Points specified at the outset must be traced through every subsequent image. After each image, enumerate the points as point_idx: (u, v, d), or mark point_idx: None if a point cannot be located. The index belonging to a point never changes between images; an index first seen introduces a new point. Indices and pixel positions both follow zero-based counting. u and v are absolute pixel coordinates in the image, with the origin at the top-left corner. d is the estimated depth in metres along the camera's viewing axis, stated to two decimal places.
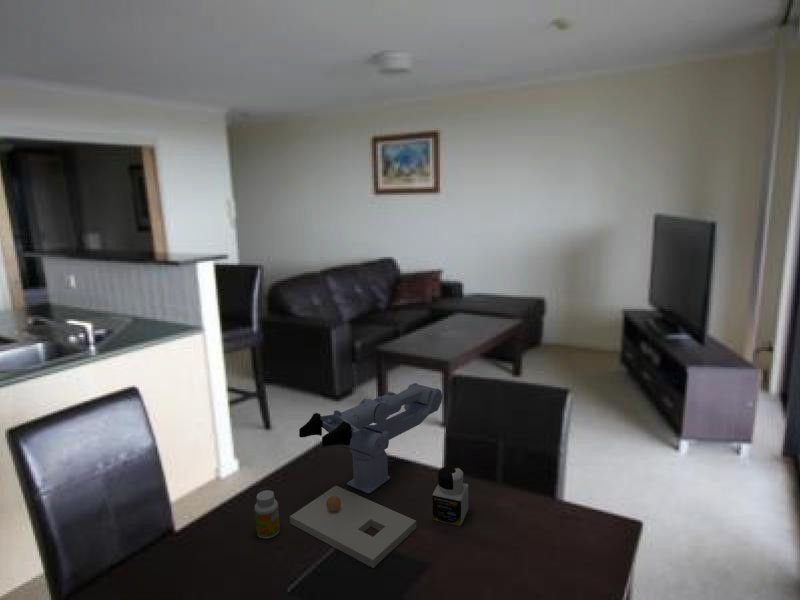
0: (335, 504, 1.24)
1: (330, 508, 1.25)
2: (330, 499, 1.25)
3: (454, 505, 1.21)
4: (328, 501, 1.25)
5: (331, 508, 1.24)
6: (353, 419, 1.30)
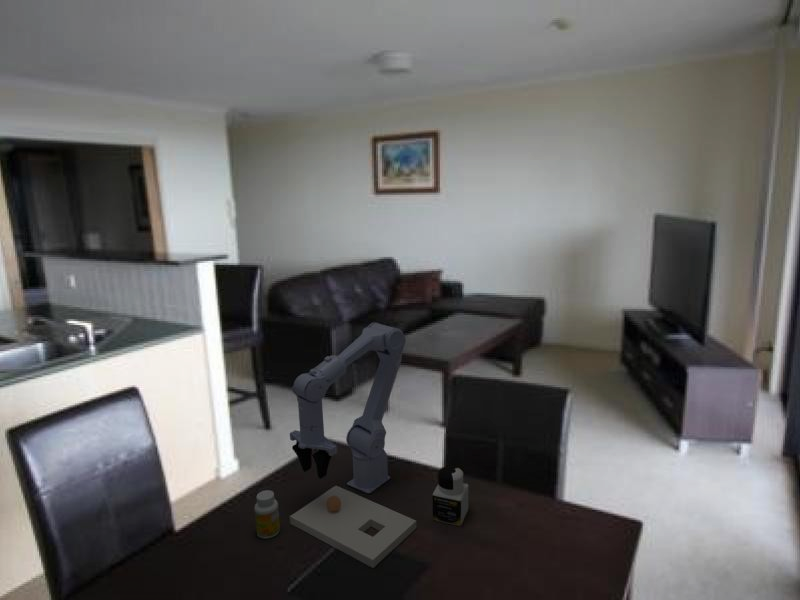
0: (335, 504, 1.24)
1: (330, 508, 1.25)
2: (330, 499, 1.25)
3: (454, 505, 1.21)
4: (328, 501, 1.25)
5: (331, 508, 1.24)
6: (314, 433, 1.23)
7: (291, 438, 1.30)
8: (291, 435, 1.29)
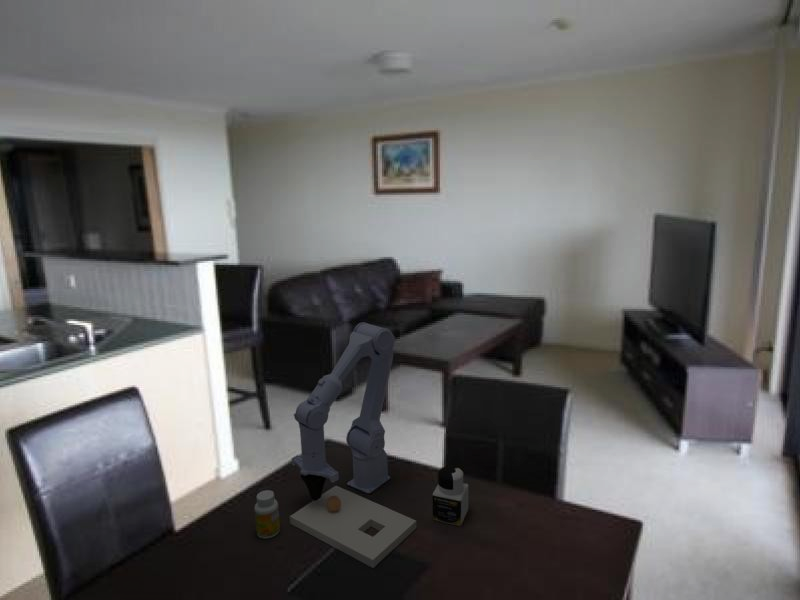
0: (335, 504, 1.24)
1: (330, 508, 1.25)
2: (330, 499, 1.25)
3: (454, 505, 1.21)
4: (328, 501, 1.25)
5: (331, 508, 1.24)
6: (316, 459, 1.25)
7: (293, 463, 1.31)
8: (293, 460, 1.31)
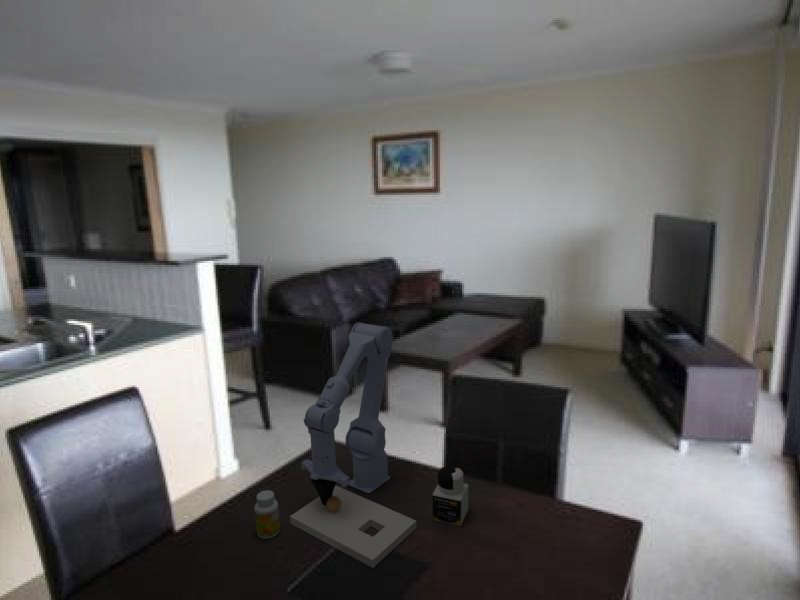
0: (335, 505, 1.24)
1: (330, 508, 1.25)
2: (330, 499, 1.25)
3: (454, 505, 1.21)
4: (328, 501, 1.25)
5: (331, 508, 1.24)
6: (326, 464, 1.22)
7: (303, 467, 1.29)
8: (303, 464, 1.29)
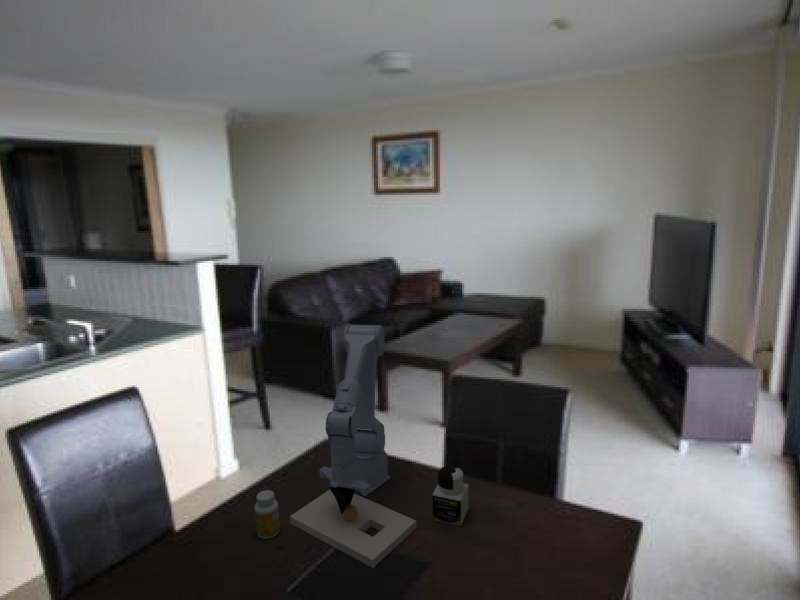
0: None
1: (344, 512, 1.21)
2: None
3: (454, 505, 1.21)
4: None
5: None
6: (347, 471, 1.18)
7: (321, 475, 1.25)
8: (321, 471, 1.24)
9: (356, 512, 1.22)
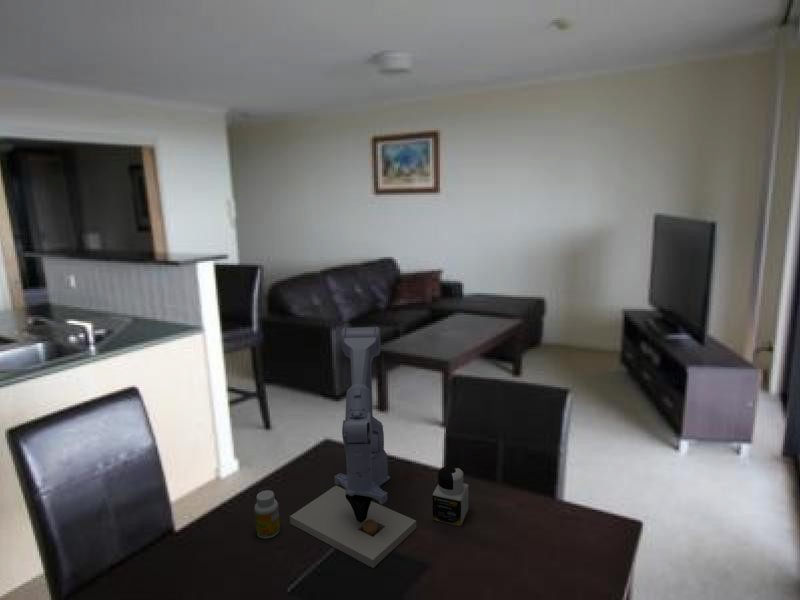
0: (372, 530, 1.18)
1: None
2: (367, 524, 1.19)
3: (454, 505, 1.21)
4: (365, 526, 1.19)
5: (368, 534, 1.18)
6: (363, 479, 1.16)
7: (336, 482, 1.22)
8: (336, 479, 1.22)
9: None
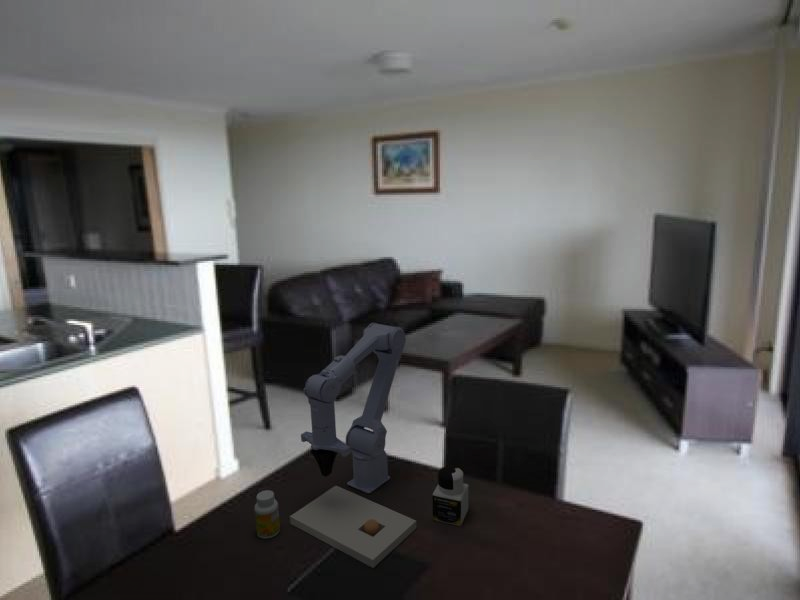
0: (374, 531, 1.18)
1: (368, 533, 1.18)
2: (369, 524, 1.19)
3: (454, 505, 1.21)
4: (367, 526, 1.19)
5: (369, 533, 1.18)
6: (327, 434, 1.23)
7: (302, 439, 1.29)
8: (302, 436, 1.29)
9: None
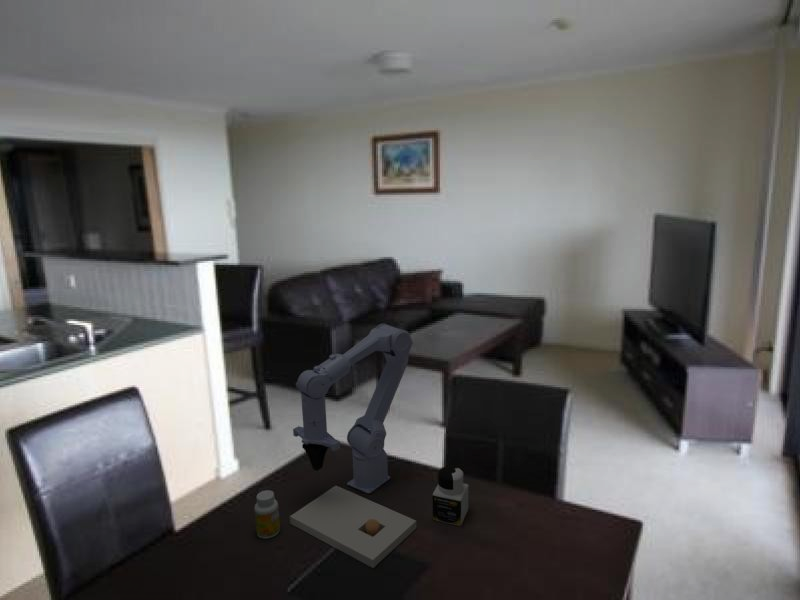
0: (375, 531, 1.18)
1: (368, 533, 1.18)
2: (371, 524, 1.19)
3: (454, 505, 1.21)
4: (368, 525, 1.19)
5: (369, 533, 1.18)
6: (317, 428, 1.25)
7: (294, 434, 1.32)
8: (294, 431, 1.32)
9: None
